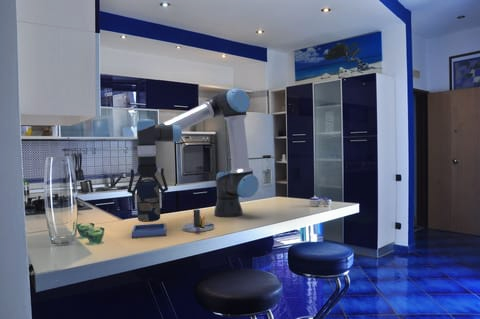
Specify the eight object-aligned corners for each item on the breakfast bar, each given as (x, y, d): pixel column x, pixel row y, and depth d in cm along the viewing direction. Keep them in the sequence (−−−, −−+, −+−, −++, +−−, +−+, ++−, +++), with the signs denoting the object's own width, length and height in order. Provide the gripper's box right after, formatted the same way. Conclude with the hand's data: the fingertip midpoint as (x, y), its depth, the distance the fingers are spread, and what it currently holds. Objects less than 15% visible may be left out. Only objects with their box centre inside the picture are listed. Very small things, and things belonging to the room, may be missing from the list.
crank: (194, 224, 167) (193, 206, 167) (202, 223, 167) (202, 205, 167) (192, 230, 155) (191, 210, 155) (201, 229, 155) (201, 210, 155)
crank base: (212, 224, 174) (211, 210, 173) (216, 230, 160) (215, 215, 160) (181, 226, 171) (181, 212, 171) (183, 233, 157) (182, 218, 157)
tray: (165, 228, 168) (165, 223, 168) (166, 235, 153) (165, 229, 153) (134, 230, 165) (134, 225, 165) (131, 238, 151) (131, 232, 151)
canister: (154, 223, 153) (153, 180, 153) (133, 223, 155) (132, 180, 155) (164, 219, 163) (162, 178, 162) (143, 219, 165) (142, 178, 164)
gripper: (173, 155, 164) (174, 205, 165) (120, 156, 160) (122, 208, 160) (173, 155, 157) (175, 208, 157) (118, 156, 152) (120, 211, 153)
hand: (148, 208), depth 159 cm, fingers closed on canister, 9 cm apart
